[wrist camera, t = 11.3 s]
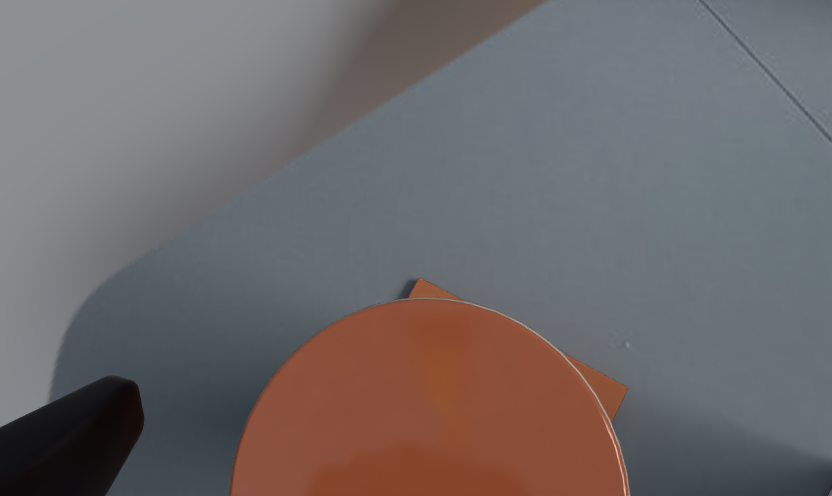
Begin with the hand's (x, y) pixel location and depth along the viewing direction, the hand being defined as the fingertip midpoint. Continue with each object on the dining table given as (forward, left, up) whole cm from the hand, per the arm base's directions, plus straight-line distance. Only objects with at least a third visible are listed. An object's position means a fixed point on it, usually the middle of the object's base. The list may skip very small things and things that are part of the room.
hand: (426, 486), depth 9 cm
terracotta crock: (0, 0, -13) cm, 13 cm away
